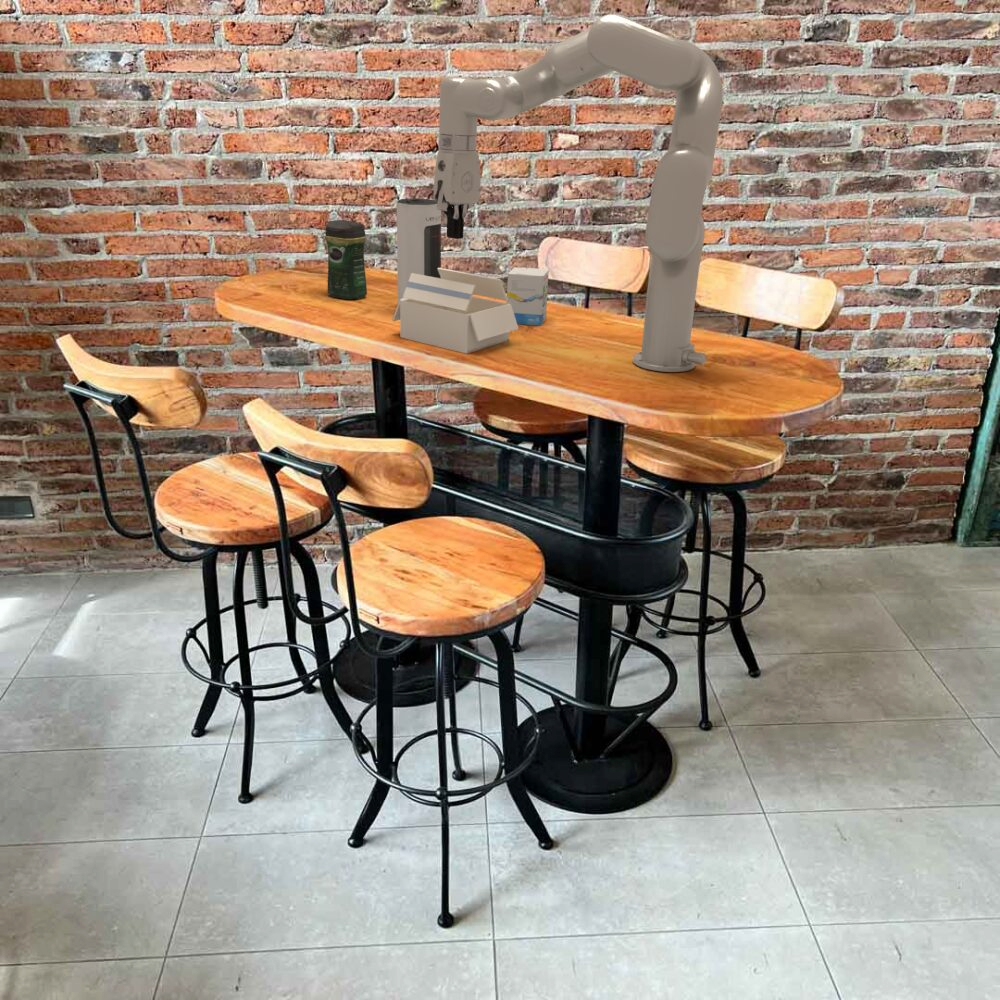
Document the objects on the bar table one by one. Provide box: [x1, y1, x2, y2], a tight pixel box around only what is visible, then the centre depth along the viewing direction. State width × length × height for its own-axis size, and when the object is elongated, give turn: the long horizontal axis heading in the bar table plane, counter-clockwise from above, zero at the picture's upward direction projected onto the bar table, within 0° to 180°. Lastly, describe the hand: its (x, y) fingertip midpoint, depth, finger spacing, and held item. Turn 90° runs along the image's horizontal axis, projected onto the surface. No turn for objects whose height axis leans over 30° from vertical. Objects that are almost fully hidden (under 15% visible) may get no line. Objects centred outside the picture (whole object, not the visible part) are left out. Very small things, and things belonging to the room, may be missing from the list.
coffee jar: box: [324, 219, 368, 300], centre depth 242 cm, size 10×8×19 cm
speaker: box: [396, 197, 442, 304], centre depth 228 cm, size 11×10×26 cm
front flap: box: [403, 273, 475, 311], centre depth 203 cm, size 17×1×6 cm
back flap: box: [438, 267, 508, 302], centre depth 211 cm, size 17×1×6 cm, turn 53°
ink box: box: [506, 266, 550, 327], centre depth 227 cm, size 8×8×12 cm
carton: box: [392, 295, 519, 355], centre depth 210 cm, size 24×14×8 cm, turn 53°
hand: (454, 237), depth 203 cm, fingers closed
